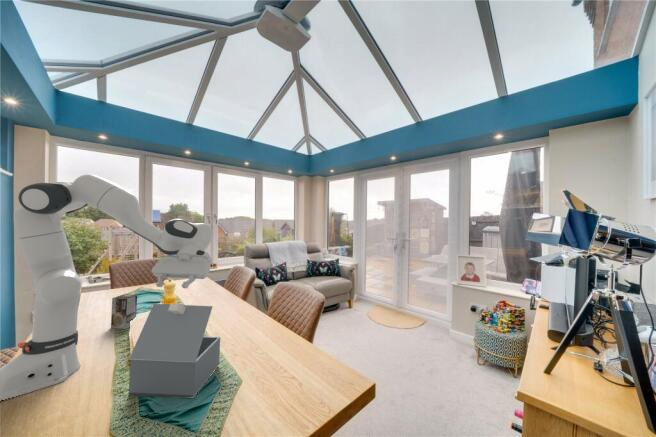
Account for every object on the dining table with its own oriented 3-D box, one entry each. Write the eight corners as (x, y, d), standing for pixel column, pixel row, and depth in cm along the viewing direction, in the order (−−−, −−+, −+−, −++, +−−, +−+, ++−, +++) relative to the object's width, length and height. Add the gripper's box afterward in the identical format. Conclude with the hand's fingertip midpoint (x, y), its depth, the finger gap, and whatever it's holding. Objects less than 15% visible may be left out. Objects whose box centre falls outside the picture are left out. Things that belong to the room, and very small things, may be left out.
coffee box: (136, 324, 133) (138, 295, 133) (125, 329, 126) (127, 298, 127) (121, 323, 134) (123, 294, 134) (109, 328, 127) (111, 297, 128)
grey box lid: (195, 362, 80) (187, 360, 75) (130, 359, 80) (118, 357, 75) (212, 306, 90) (206, 302, 85) (155, 304, 90) (145, 299, 86)
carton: (193, 398, 79) (195, 362, 80) (128, 395, 80) (130, 359, 80) (218, 366, 97) (220, 337, 98) (165, 364, 98) (167, 334, 98)
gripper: (160, 250, 94) (138, 280, 84) (211, 252, 94) (195, 283, 84) (167, 259, 99) (147, 289, 89) (216, 262, 98) (201, 292, 88)
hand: (171, 286), depth 86 cm, fingers open, 8 cm apart
